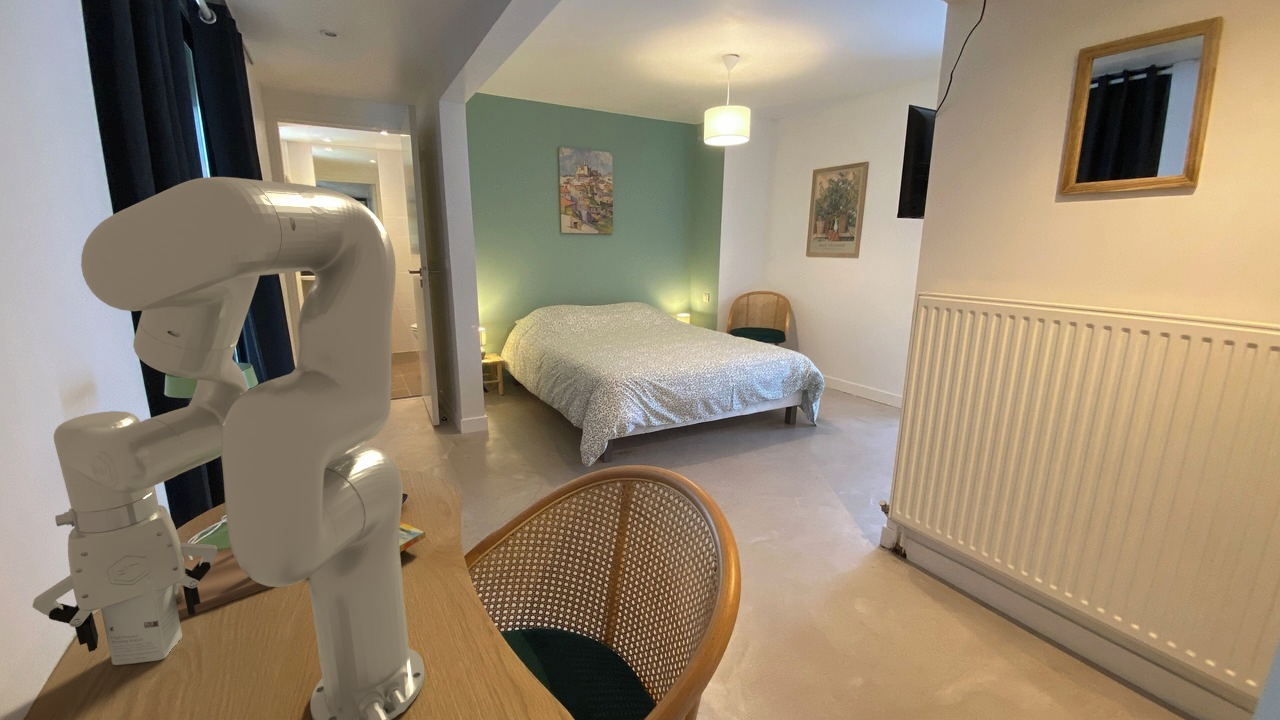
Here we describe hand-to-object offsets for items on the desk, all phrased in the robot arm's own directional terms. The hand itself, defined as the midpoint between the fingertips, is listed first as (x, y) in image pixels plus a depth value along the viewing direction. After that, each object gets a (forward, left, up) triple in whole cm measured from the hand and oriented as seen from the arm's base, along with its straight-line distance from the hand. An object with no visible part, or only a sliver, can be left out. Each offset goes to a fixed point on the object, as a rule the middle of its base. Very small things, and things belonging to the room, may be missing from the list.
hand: (145, 626), depth 71 cm
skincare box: (0, 0, -4) cm, 4 cm away
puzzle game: (+7, -28, -4) cm, 29 cm away
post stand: (+12, -8, -4) cm, 15 cm away
